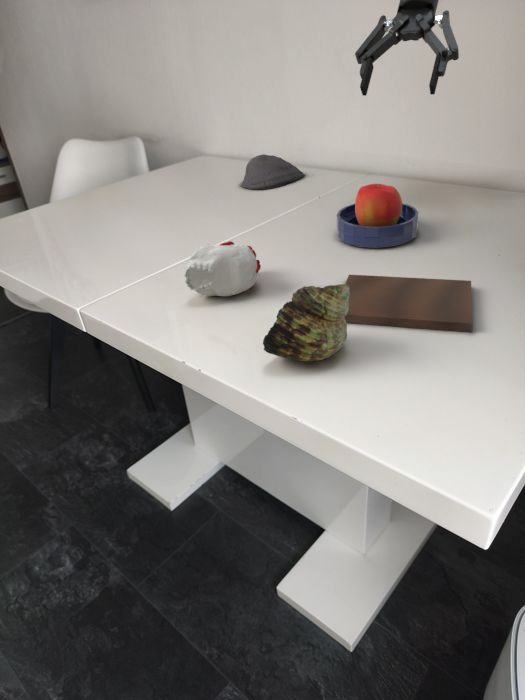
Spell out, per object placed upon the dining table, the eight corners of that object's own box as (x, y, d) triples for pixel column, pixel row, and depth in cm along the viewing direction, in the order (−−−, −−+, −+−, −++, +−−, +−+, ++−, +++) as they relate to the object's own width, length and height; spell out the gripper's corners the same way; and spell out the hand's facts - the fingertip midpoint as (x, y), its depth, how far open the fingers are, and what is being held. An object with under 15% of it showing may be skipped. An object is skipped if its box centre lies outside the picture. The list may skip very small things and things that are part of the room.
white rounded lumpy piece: (184, 303, 92) (220, 276, 104) (246, 308, 88) (275, 279, 101) (178, 251, 88) (216, 229, 100) (242, 255, 84) (273, 231, 97)
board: (469, 288, 89) (471, 280, 88) (471, 332, 78) (472, 323, 77) (348, 282, 94) (348, 274, 94) (334, 321, 83) (333, 313, 83)
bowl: (419, 221, 116) (420, 201, 114) (414, 251, 103) (415, 228, 101) (344, 220, 121) (344, 200, 118) (330, 248, 108) (330, 226, 106)
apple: (389, 243, 106) (391, 193, 101) (345, 237, 111) (345, 189, 106) (406, 227, 113) (410, 179, 107) (364, 222, 117) (365, 175, 112)
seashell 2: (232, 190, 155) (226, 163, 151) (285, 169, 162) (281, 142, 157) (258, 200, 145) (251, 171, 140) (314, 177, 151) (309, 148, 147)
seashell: (274, 332, 82) (269, 272, 77) (350, 333, 80) (350, 271, 75) (263, 372, 74) (256, 307, 68) (347, 374, 71) (347, 308, 66)
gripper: (485, 6, 107) (463, 102, 104) (364, 16, 117) (340, 103, 114) (485, -26, 100) (461, 75, 97) (356, -13, 111) (331, 79, 108)
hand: (396, 90), depth 106 cm, fingers open, 13 cm apart
